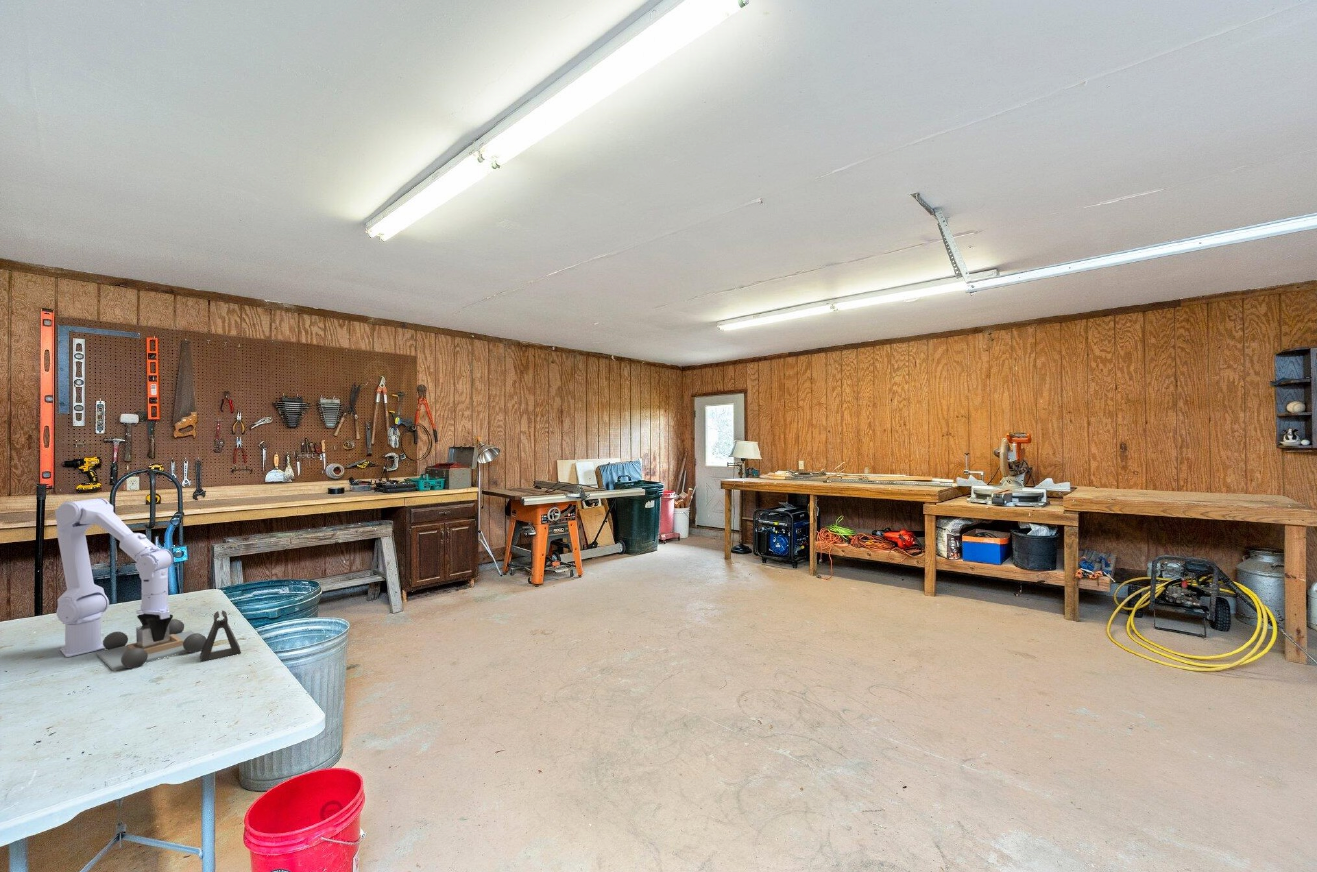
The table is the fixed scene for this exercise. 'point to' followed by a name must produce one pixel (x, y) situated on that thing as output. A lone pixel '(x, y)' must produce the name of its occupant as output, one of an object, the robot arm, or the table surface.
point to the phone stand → (208, 645)
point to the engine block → (149, 637)
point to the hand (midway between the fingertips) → (155, 638)
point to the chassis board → (135, 657)
